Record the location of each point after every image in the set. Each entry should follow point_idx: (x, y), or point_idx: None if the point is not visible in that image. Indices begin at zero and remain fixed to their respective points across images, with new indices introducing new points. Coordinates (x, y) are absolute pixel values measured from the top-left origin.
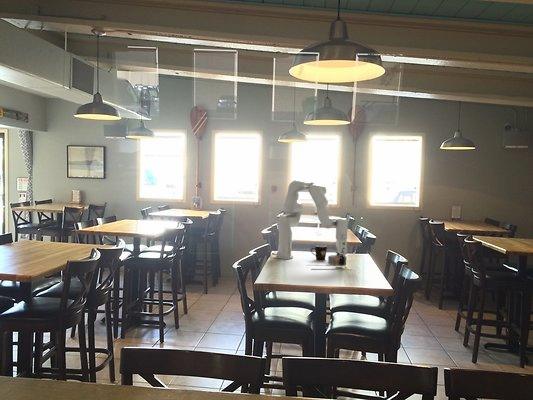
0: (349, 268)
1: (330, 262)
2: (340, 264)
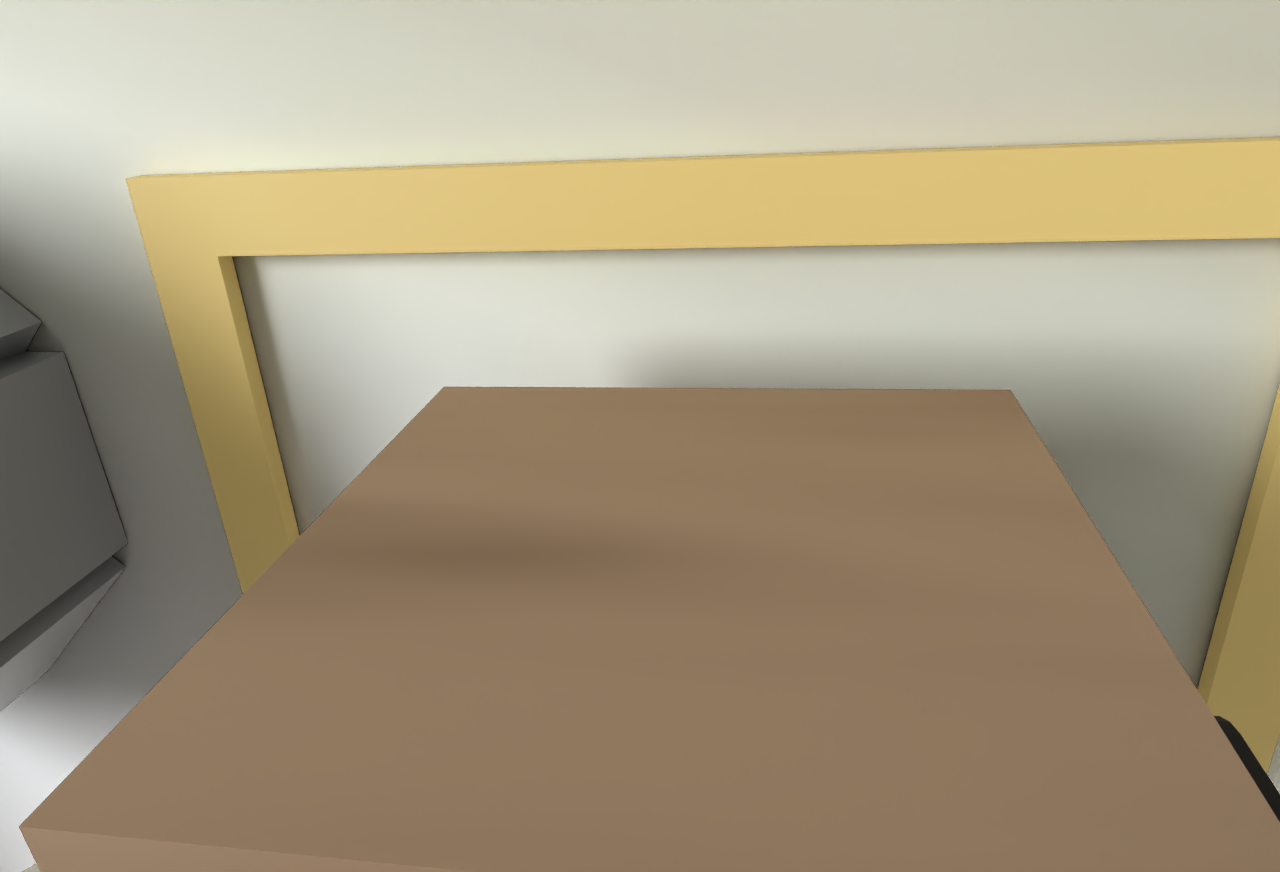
0: (1136, 162)
1: (6, 705)
2: None
